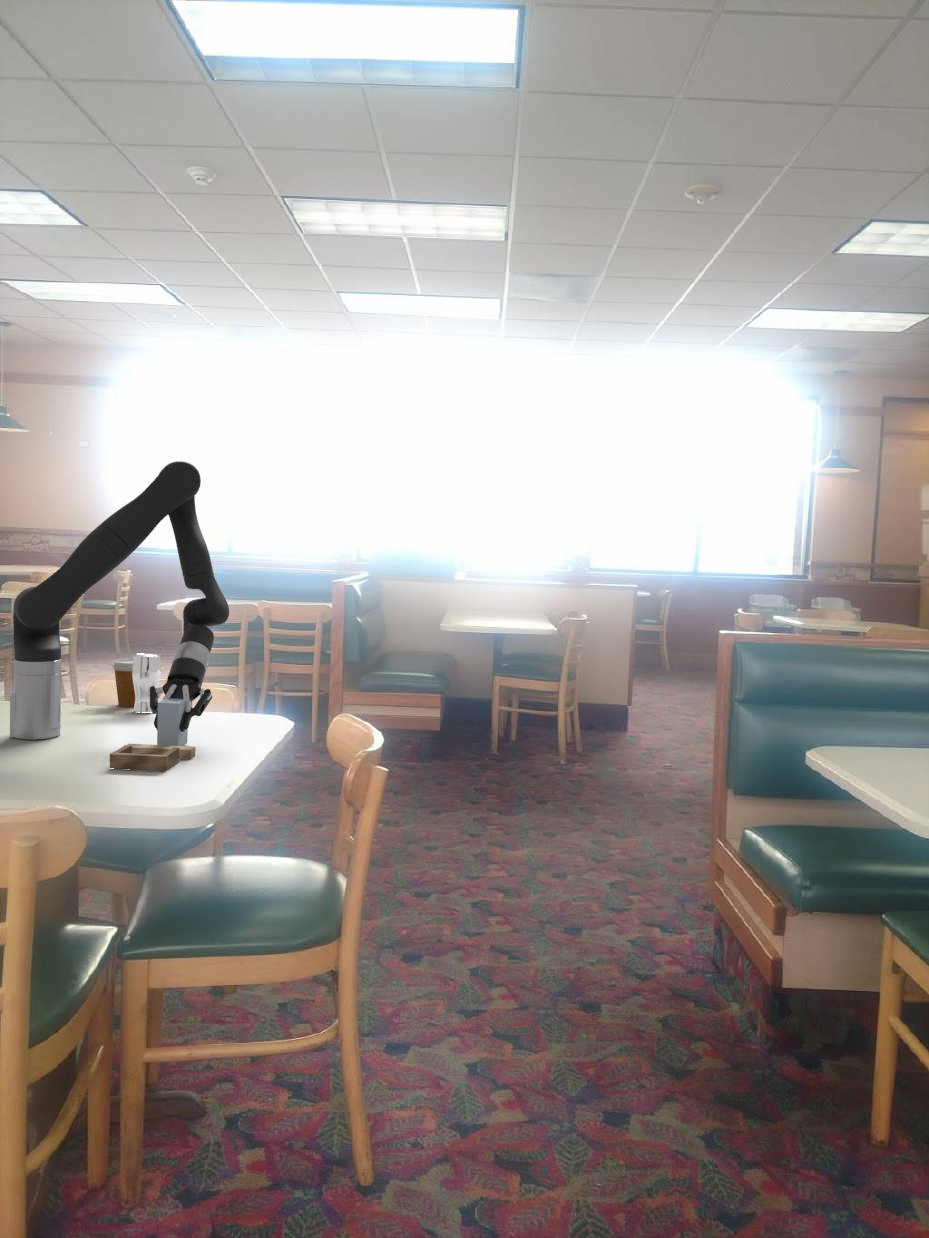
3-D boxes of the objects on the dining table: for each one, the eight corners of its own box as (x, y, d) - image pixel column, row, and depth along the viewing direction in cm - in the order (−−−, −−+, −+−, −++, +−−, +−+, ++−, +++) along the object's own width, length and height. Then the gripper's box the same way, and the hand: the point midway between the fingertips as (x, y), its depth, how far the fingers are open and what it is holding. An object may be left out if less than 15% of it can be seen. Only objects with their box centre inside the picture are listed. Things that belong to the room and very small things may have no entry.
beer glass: (164, 712, 217) (165, 655, 216) (138, 715, 212) (139, 657, 211) (152, 708, 222) (153, 652, 221) (126, 710, 217) (127, 654, 216)
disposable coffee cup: (141, 709, 220) (142, 664, 219) (105, 707, 220) (106, 662, 219) (155, 702, 230) (156, 660, 229) (121, 701, 230) (121, 658, 229)
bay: (109, 769, 161) (109, 754, 160) (125, 759, 168) (125, 745, 168) (165, 771, 161) (166, 756, 161) (179, 762, 168) (179, 747, 168)
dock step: (122, 756, 171) (122, 746, 171) (128, 752, 174) (128, 743, 174) (190, 759, 171) (190, 749, 171) (195, 755, 174) (195, 746, 174)
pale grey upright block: (156, 748, 177) (158, 702, 177) (167, 741, 184) (168, 697, 183) (178, 749, 177) (179, 703, 177) (187, 742, 184) (188, 698, 183)
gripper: (154, 654, 186) (131, 717, 175) (217, 657, 186) (199, 721, 175) (162, 674, 192) (140, 737, 181) (223, 677, 192) (206, 740, 181)
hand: (169, 728), depth 178 cm, fingers closed on pale grey upright block, 4 cm apart
